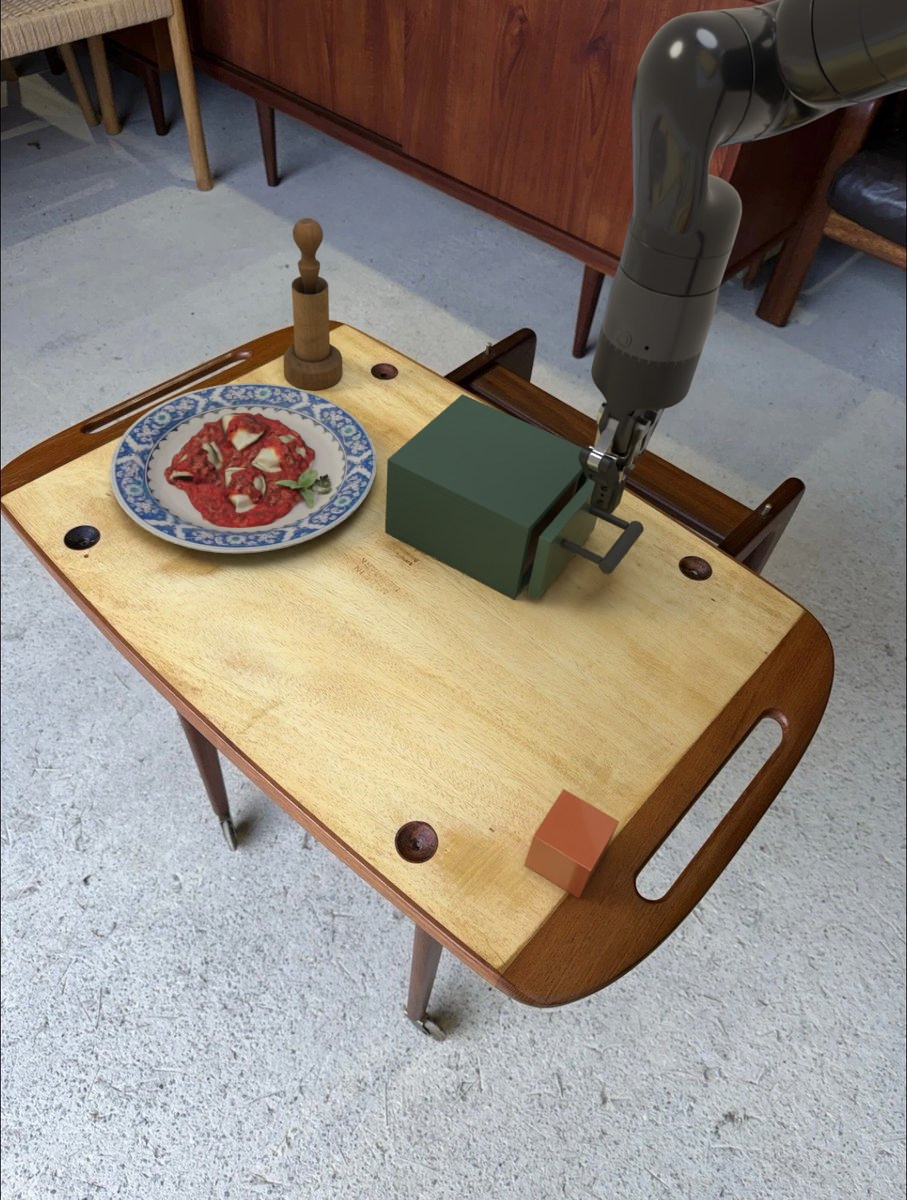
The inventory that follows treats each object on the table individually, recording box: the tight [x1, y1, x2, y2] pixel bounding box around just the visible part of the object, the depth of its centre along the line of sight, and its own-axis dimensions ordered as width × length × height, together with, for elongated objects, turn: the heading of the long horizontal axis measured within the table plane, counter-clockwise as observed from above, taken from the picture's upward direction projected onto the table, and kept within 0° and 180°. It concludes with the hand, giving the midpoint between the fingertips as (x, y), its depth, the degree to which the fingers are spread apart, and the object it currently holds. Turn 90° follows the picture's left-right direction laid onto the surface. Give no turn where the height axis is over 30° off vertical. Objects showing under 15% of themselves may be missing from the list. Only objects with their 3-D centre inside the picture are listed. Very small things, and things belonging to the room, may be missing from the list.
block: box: [524, 788, 620, 899], centre depth 64 cm, size 4×4×4 cm
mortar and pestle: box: [283, 217, 343, 391], centre depth 96 cm, size 7×6×18 cm
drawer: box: [523, 477, 645, 600], centre depth 83 cm, size 19×11×7 cm, turn 57°
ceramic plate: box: [109, 382, 377, 555], centre depth 89 cm, size 26×26×3 cm
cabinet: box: [384, 393, 588, 601], centre depth 85 cm, size 15×13×9 cm
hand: (604, 505), depth 78 cm, fingers closed
